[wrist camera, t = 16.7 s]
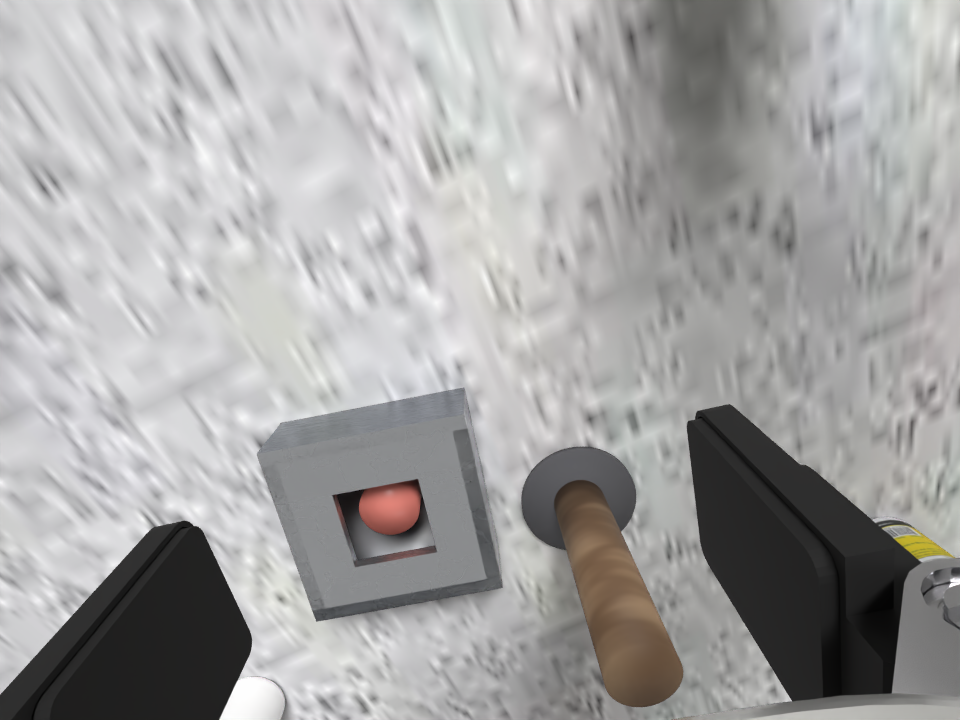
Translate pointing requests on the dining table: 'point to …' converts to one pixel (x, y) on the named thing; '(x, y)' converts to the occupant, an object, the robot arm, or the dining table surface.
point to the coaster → (567, 469)
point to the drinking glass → (254, 700)
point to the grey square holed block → (376, 462)
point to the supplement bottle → (912, 539)
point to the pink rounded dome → (391, 507)
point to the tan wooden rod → (615, 601)
